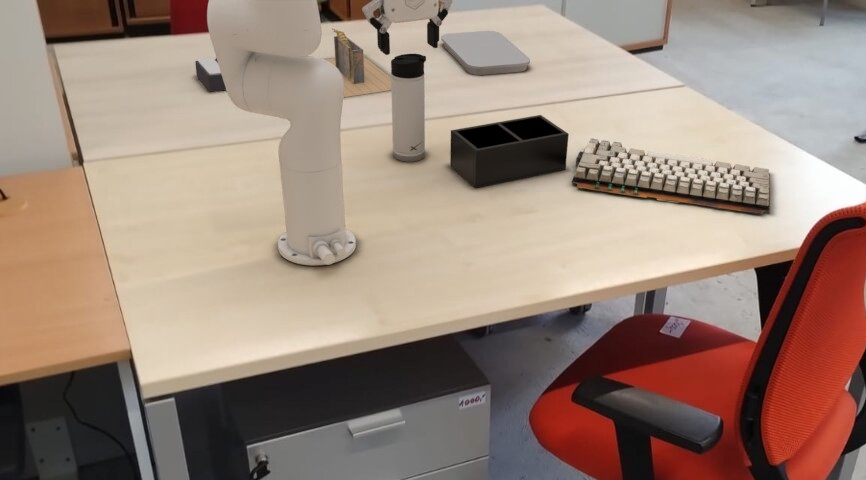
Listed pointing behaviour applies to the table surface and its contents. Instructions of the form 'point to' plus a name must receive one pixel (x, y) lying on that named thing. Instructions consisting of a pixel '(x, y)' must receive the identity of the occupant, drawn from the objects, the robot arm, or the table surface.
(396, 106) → the travel mug
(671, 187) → the mechanical keyboard
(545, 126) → the caddy
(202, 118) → the table surface
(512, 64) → the grey flat block
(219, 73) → the calculator
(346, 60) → the architectural model on board
